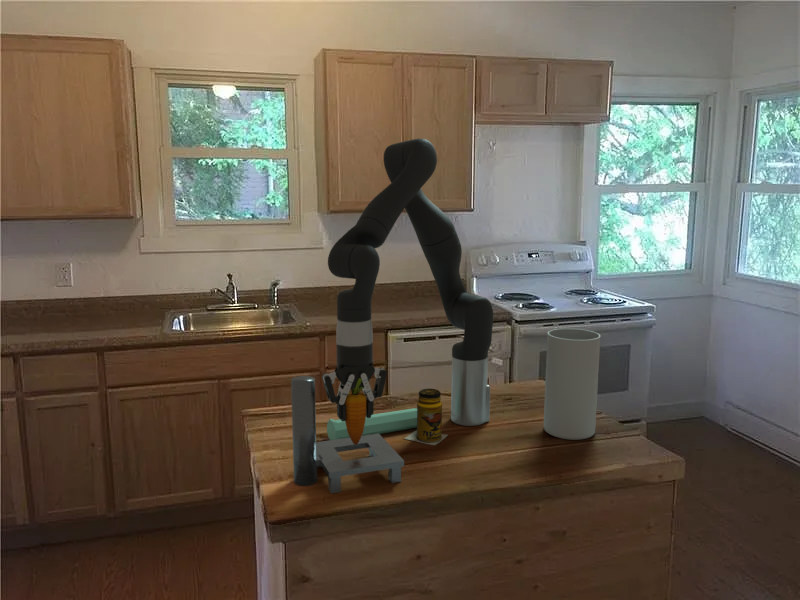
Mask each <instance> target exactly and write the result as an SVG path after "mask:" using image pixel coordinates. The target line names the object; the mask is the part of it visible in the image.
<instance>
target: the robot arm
mask: <svg viewBox="0 0 800 600" xmlns="http://www.w3.org/2000/svg"><path fill="white" fill-rule="evenodd" d="M437 163H438V156H437V152H436V148H435V147H434V144H433V143H432V142H431V141H429V139H426V138H413V139H410V140H405V141H400V142H396V143H393V144H392V143H391V144H390V145H388V146H387V147H386V148H385V150H384V152H383V165H384V169H385V172H386V175H387V177H388V179H389V181H390V184H388V185H387V186H386V187H385V188H384V189H383V190H382V191H380V192H379V193H378V194H376V196H375V197H374V198H373V199H372V200H371V201H370V202H369V203H368V204H367V206H366V207H365V208H364V210H363V211H362V213H361V215H360V217H359V219H358V220H357V222H356V223H355V225H354V226H353V227H350V229H349V230H347V232H345V233H344V235H342V236H341V237H340V238H339V239H338V240H337V241H336V242H335V243H334V245H333V246H332V247H331V249H330V251H329V254H328V257H327V267H328V270H329V271H330V273H331V275H333V276H334V277H337V278H341V279H351V280H352V279H353V280H355V282H354V285H353V288H350V289H344V290H341V291H339V293H338V294H337V298H336V308H337V309H336V316H337V318H336V319H337V320H336V332H335V337H336V339H335V340H336V341H335V342H336V344H335V345H336V366H335V367H336V368H335V369H334V371H332V372H330V373H326V372H325V373H322V375H321V378H322V381H323V385H324V389H325V393H326V396H327V400H329V401H330V403H332V404H336V416H337V417H338V420H341V421H346V405H345V404H344V403H345V400H346V397H347V395H348V394H349V393H350V392H351V389H354V388H355V387H356V384H357V381H358V379H359V378H361V380H362V382H361V384H360V386H359V388H360V387H363V389H362V391H363V394H365V395H366V398H367V402H366V417H367V418H371V415H373V414H374V411H375V410H374V409H375V408H374V406H375V405H374V401H375V400H376V399H377V398H382V396H383V394H384V393H383V392H384V389H385V384H386V380H387V375H388V371H387V370H386V369H385V368H384V367H375V366H374V363H373V362H374V359H373V357H374V354H373V353H374V345H373V343H374V342H373V340H374V334H373V331H374V330H373V323H372V298H373V293H374V289H375V287H376V281H377V278H378V274H379V270H380V264H381V262H380V256H379V254H378V251H377V250H376V249H379V248H381V246H382V245H384V243H385V242H386V240H387V238H388V236H389V234H390V232H391V231H392V229H393V227H394V225H395V224H396V222H397V221H398V219H399V217H400V216H401V214H402V213H403V211H404V210H405V211H406V214H407V216H408V219H409V220H410V223H411V225H412V226H413V227H412V228H413V230H414V232H415V234H416V237H417V240H418V242H419V245H420V247H421V248H420V249H421V250H422V252H423V255H424V257H425V259H426V261H427V263H428V266H429V268H430V271H431V273H432V274H431V275H432V276H433V279H434V281H435V283H436V285H437V289H438V292H439V295H440V300H441V303H442V306H443V310H444V312H445V316H446V318H447V320H448V322H449V323H450V324H451V325H452V326H453V327H455V328H457V329H461V330H463V340H462V341H460V342H455V343H454V344H453V345H452V346H451V388H450V389H451V393H450V394H451V396H450V397H451V399H450V420H451V422H453V423H454V424H457V425H460V426H469V427H470V426H471V427H473V426H481V425H482V424H484V423H487V422H490V413H491V412H490V409H491V408H490V407H491V386H490V385H489V384H488V364H489V363H488V362H489V361H488V360H489V358H488V357H489V351H490V348H491V344H492V339H493V338H492V336H493V326H494V324H493V323H494V309H493V304H492V303H491V301H490V300H489V299H488V298H487V297H484V296H481V295H477V294H476V295H475V294H471V293H469V292H468V291H467V289H466V286H465V285H464V282H463V280H462V278H461V277H462V276H461V274H460V273H461V272H460V267H461V262H462V255H463V254H462V251H463V250H462V243H461V241H460V239H459V238H460V237H459V235H458V232H457V230H456V228H455V225H454V223H453V221H452V219H450V217H449V216H448V215H447V214H446V213H444V212H443V211H442V210H441V209H440V208H439V207H438V206H437V205H435V204H434V203H433V202H432V201H431V200H430V199H429V198H428V197H427V195H425V193H424V191H423V190H422V188H423V186H425V184H426V183H427V182H428V181H429V179H430V178H431V177H432V176H433V175H434V173H435V170H436V168H437ZM373 376H374V377H375V381H374V387H373V390H372V386H371V384H370V380H371V378H372V377H373ZM336 378H337V379H338V381H339V382H340V383H339V386H338V391H337V394H336V393H335V391H334V386H333V385H334V383H335V379H336ZM359 388H358V389H359Z"/></svg>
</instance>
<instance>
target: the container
mask: <svg viewBox="0 0 800 600" xmlns="http://www.w3.org/2000/svg"><path fill="white" fill-rule="evenodd" d="M415 428H416V429H417V407H416V408H413V407H412V408H408V409H407V408H406V409H401V410H394V411H389V412H382V413H375V414H374V413H373V415H371V418H367V417H366V419H365V425H364V430H363V433H362V436H364V435H371V434H380V435H382V434H389V433H393V432H397V431H398V432H399V431H404V430H410V429H415ZM326 433H327V437H328V441H329V440H336V439H343V438H350V436H349V434H348V431H347V427H346V422H345V421H341V420H340V419H334V418H329V419H328V421H327V424H326Z"/></svg>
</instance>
